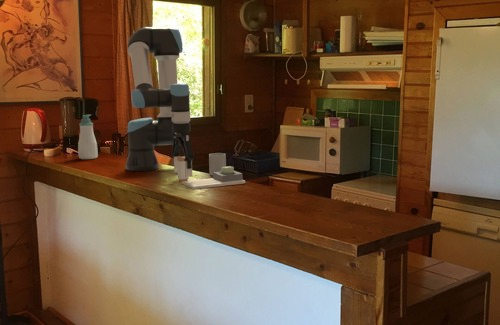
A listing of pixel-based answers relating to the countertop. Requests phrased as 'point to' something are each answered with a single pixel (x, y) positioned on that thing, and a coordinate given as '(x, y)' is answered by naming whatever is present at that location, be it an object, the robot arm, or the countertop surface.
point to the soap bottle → (87, 140)
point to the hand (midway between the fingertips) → (183, 174)
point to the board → (216, 180)
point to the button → (227, 170)
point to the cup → (216, 162)
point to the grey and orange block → (181, 169)
